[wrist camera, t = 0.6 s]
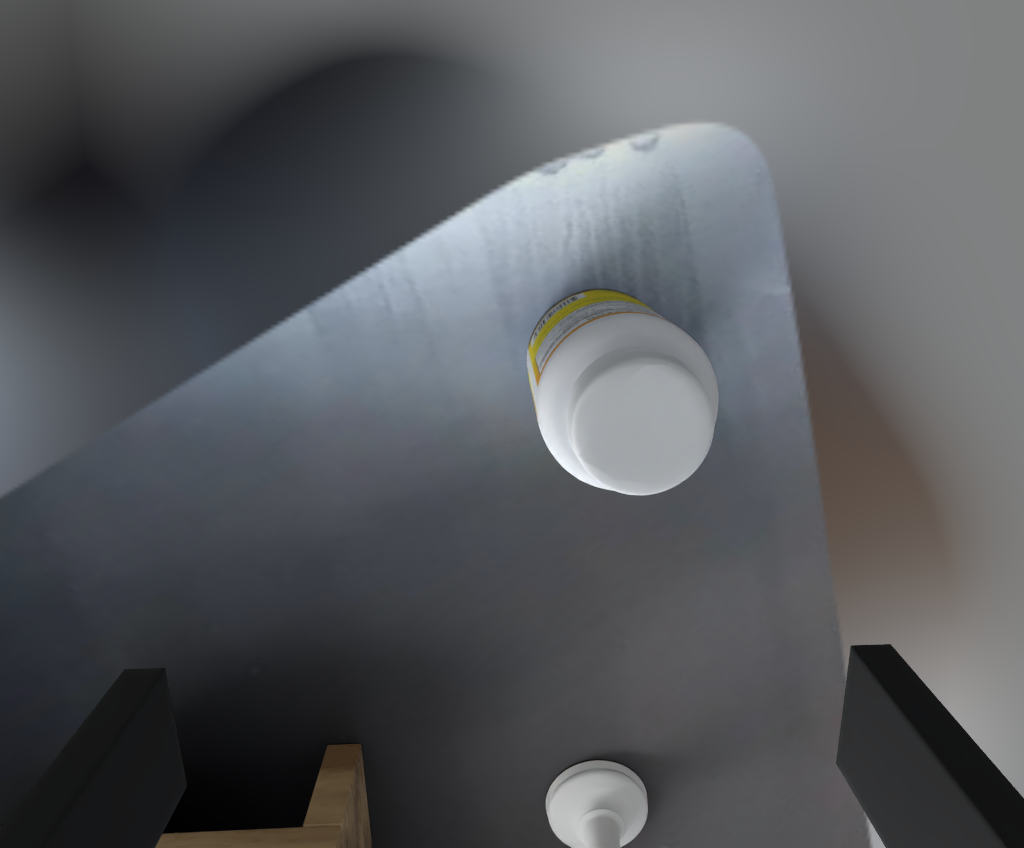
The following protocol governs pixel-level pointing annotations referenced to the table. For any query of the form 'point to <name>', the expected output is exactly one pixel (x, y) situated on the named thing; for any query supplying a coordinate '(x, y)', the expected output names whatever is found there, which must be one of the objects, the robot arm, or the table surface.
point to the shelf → (329, 820)
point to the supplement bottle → (621, 393)
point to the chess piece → (597, 805)
